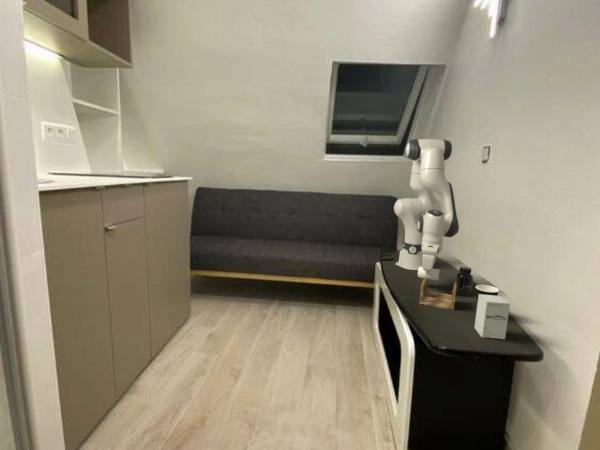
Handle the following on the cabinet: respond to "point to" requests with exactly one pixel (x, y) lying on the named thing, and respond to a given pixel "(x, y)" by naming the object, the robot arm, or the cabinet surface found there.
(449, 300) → the holder
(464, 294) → the supplement bottle
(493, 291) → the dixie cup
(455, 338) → the cabinet surface
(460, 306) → the cabinet surface
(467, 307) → the cabinet surface
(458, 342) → the cabinet surface
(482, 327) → the supplement box
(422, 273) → the paper roll
